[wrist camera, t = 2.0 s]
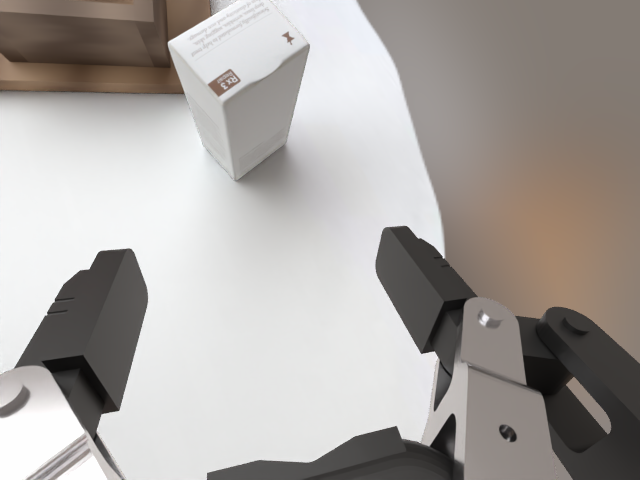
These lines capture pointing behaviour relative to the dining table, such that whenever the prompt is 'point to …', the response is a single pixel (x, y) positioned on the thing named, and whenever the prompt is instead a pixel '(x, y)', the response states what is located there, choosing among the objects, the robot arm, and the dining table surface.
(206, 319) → the dining table surface
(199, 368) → the dining table surface
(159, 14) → the sleeve stand
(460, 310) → the robot arm
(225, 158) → the skincare box
